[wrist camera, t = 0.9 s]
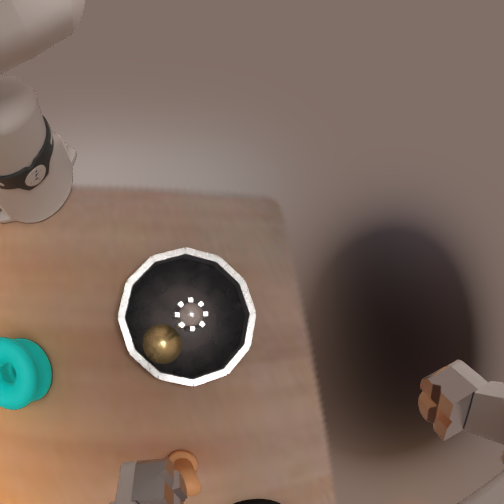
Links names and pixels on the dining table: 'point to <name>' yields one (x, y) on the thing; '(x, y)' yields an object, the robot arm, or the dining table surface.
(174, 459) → the peg on round base
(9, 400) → the turquoise spool
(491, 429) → the robot arm
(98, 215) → the dining table surface
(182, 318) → the bowl
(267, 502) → the wireless charger
